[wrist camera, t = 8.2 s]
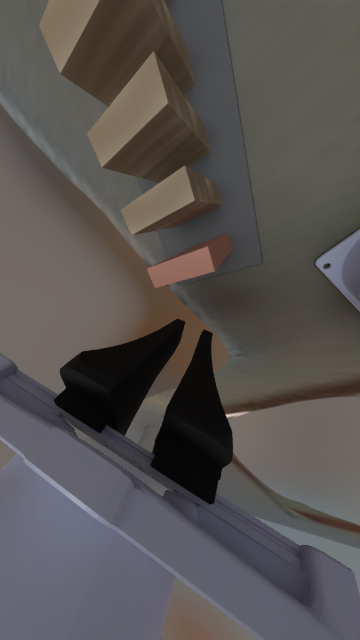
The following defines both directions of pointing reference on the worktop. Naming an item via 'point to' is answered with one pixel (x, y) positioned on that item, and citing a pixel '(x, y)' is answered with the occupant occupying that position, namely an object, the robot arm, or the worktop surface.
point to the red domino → (191, 262)
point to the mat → (214, 141)
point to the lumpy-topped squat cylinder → (149, 437)
